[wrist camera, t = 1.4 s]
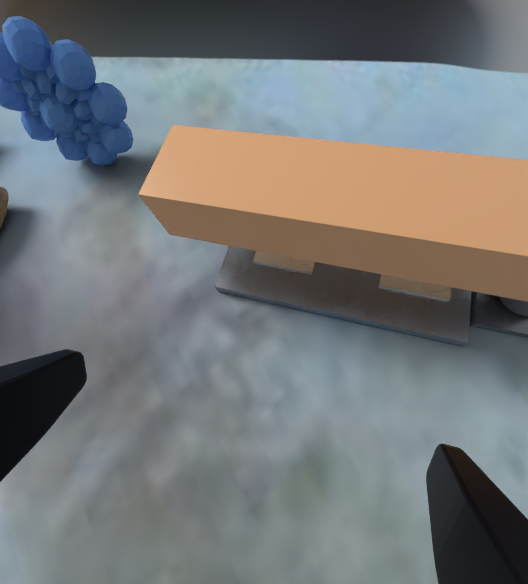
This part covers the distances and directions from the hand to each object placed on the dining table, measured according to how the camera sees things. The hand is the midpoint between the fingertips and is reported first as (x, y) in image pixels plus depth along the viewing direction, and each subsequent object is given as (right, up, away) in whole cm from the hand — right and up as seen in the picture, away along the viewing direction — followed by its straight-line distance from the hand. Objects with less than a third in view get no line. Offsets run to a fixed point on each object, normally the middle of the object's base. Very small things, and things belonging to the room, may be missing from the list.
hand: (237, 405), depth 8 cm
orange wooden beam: (+7, +5, +14) cm, 17 cm away
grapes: (-14, +16, +23) cm, 32 cm away
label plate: (+7, +6, +16) cm, 18 cm away
